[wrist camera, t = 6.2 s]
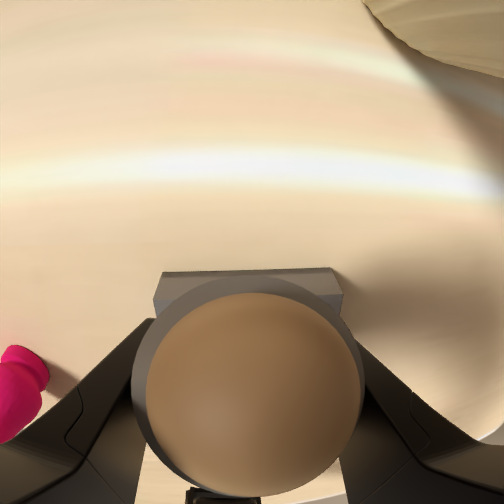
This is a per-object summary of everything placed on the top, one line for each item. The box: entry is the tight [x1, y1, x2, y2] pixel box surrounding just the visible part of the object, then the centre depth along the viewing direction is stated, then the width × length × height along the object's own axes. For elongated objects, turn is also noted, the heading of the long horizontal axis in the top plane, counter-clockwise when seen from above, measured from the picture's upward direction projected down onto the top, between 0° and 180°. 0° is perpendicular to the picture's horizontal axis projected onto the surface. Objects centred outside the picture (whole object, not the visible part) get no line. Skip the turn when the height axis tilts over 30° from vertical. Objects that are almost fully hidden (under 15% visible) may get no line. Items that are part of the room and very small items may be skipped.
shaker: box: [131, 275, 365, 497], centre depth 10 cm, size 5×5×12 cm
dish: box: [153, 268, 343, 317], centre depth 26 cm, size 18×13×4 cm
